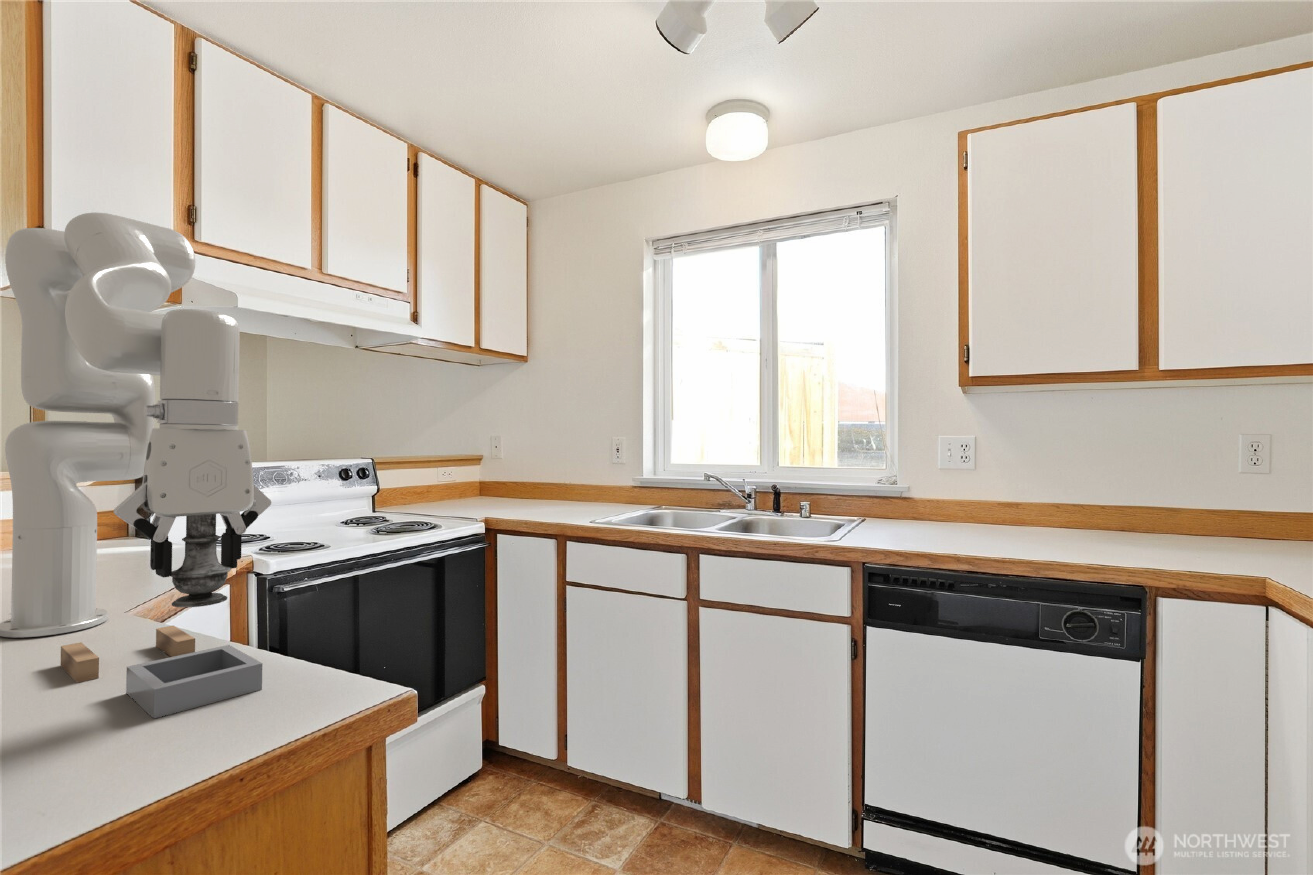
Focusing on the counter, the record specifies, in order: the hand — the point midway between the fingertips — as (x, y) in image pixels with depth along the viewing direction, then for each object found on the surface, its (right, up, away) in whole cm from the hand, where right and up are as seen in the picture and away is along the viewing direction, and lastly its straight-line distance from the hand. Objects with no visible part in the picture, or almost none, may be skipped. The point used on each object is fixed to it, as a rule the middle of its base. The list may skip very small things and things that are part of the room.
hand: (197, 569), depth 75 cm
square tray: (0, -14, 0) cm, 14 cm away
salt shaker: (+1, -4, -1) cm, 4 cm away
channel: (-16, -14, +9) cm, 23 cm away
